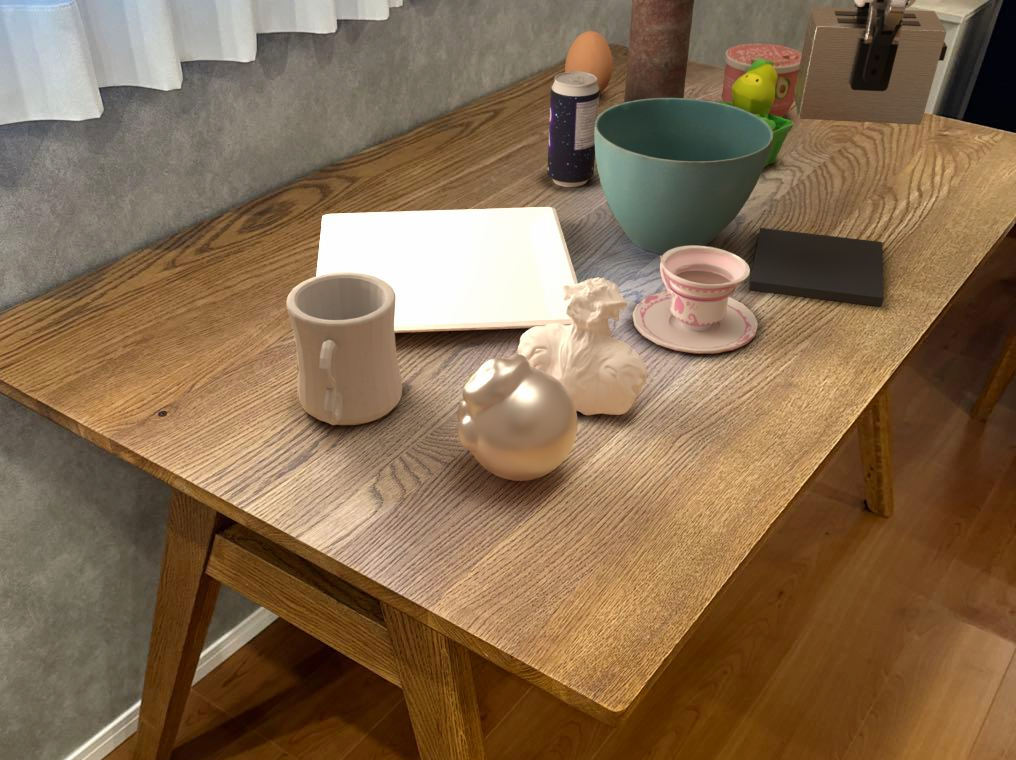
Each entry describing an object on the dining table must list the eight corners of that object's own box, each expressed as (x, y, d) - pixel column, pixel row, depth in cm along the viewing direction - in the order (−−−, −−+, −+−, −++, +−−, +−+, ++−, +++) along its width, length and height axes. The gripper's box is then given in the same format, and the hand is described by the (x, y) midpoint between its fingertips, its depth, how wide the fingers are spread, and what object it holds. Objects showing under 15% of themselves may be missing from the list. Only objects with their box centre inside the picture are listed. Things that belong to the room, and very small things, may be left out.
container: (711, 124, 139) (720, 62, 134) (721, 99, 147) (730, 40, 141) (790, 132, 137) (802, 70, 132) (796, 107, 144) (808, 46, 139)
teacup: (781, 323, 99) (794, 264, 95) (709, 371, 93) (720, 310, 89) (680, 282, 105) (688, 225, 101) (606, 324, 99) (612, 265, 95)
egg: (609, 90, 150) (615, 25, 144) (610, 106, 145) (615, 39, 139) (563, 89, 150) (567, 23, 144) (562, 105, 145) (566, 38, 139)
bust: (642, 434, 89) (685, 308, 88) (618, 424, 82) (665, 288, 81) (521, 395, 94) (561, 276, 92) (489, 383, 87) (531, 253, 85)
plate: (588, 340, 97) (590, 320, 95) (312, 350, 95) (310, 331, 94) (554, 222, 116) (554, 204, 115) (324, 229, 115) (322, 212, 114)
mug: (311, 368, 93) (299, 268, 86) (410, 374, 92) (404, 272, 86) (278, 449, 84) (261, 343, 77) (387, 456, 83) (379, 349, 77)
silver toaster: (793, 96, 100) (810, 6, 94) (921, 101, 98) (946, 10, 93) (798, 118, 95) (816, 25, 90) (932, 125, 93) (959, 30, 88)
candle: (636, 172, 127) (654, -5, 114) (607, 152, 132) (621, -20, 119) (688, 162, 129) (712, -12, 116) (657, 142, 134) (677, -27, 121)
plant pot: (748, 209, 119) (767, 101, 111) (756, 283, 105) (779, 165, 97) (592, 200, 121) (600, 93, 113) (580, 271, 107) (589, 155, 99)
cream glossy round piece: (501, 422, 87) (502, 317, 80) (594, 462, 82) (604, 355, 76) (434, 473, 81) (429, 366, 75) (530, 520, 77) (535, 410, 70)
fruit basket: (679, 153, 132) (691, 61, 124) (722, 136, 136) (736, 46, 128) (752, 179, 125) (769, 83, 118) (794, 161, 130) (813, 67, 122)
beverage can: (586, 169, 128) (593, 68, 120) (598, 187, 123) (606, 84, 116) (542, 173, 127) (546, 71, 119) (552, 191, 123) (557, 87, 115)
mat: (880, 250, 111) (882, 241, 110) (880, 306, 101) (883, 297, 101) (758, 236, 113) (760, 227, 113) (748, 289, 104) (750, 280, 103)
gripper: (857, -171, 90) (813, 47, 101) (883, -138, 77) (830, 107, 89) (946, -170, 89) (892, 50, 101) (988, -136, 76) (920, 111, 88)
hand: (863, 74), depth 94 cm, fingers closed on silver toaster, 6 cm apart
